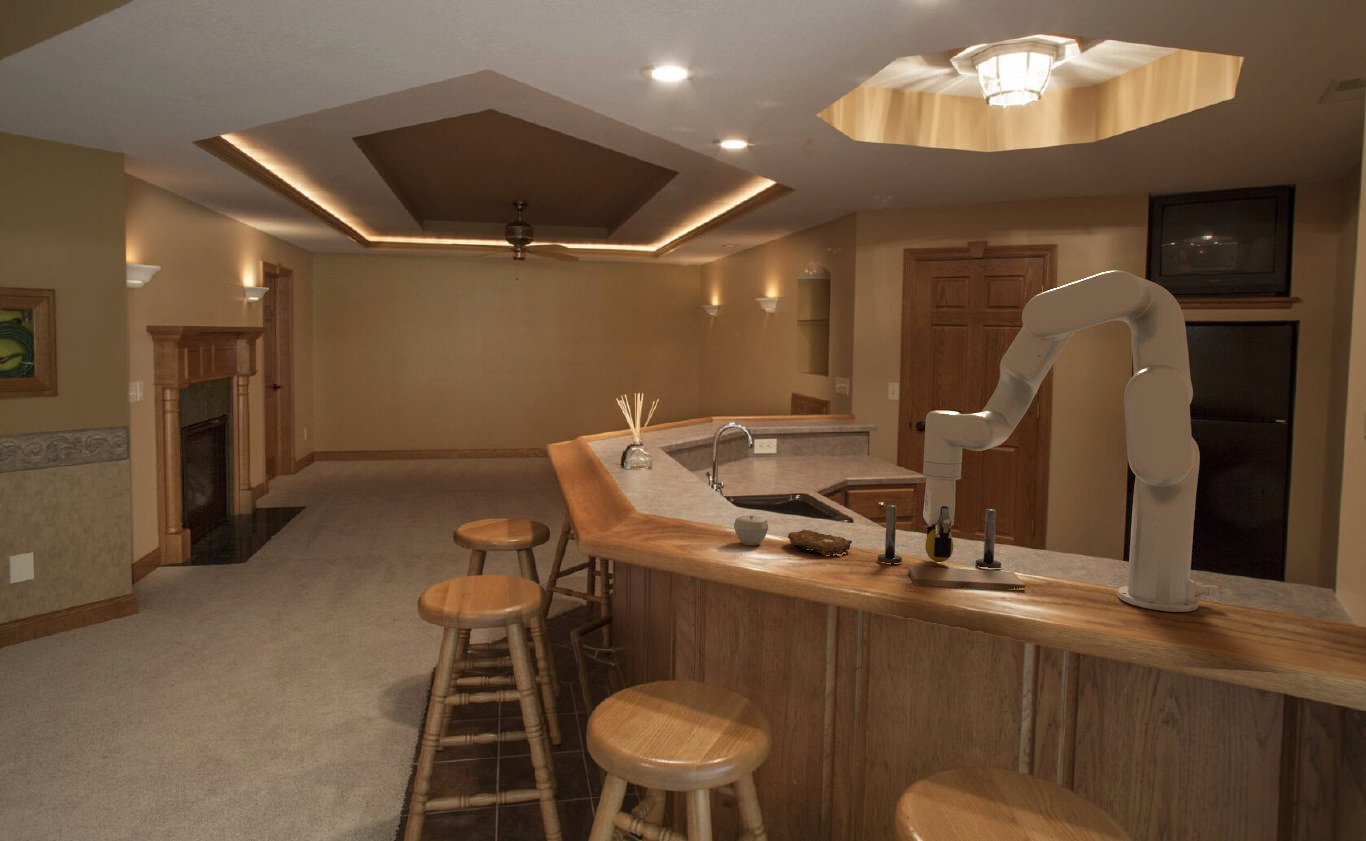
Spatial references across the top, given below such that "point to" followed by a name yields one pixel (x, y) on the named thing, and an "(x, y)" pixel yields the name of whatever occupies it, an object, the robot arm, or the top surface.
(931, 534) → the lemon
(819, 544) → the decorative rock
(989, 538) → the post arm side
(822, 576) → the top surface
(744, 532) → the apple
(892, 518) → the post far side
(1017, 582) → the walnut board
